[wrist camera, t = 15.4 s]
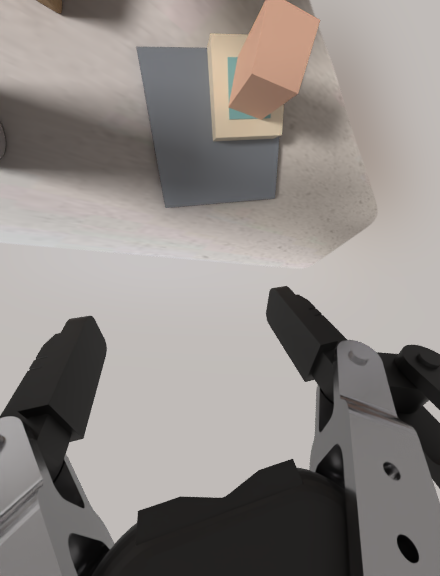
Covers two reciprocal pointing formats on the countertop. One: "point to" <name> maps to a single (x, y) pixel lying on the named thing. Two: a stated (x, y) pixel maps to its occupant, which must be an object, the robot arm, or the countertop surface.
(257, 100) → the terracotta block
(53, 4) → the decorative block
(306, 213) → the countertop surface
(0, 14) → the countertop surface
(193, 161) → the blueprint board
